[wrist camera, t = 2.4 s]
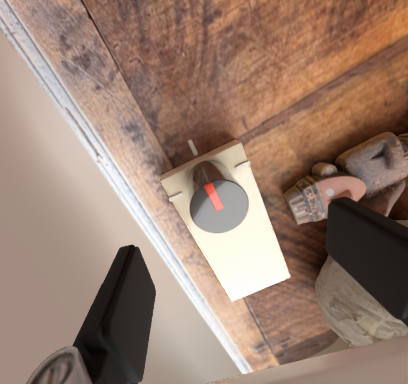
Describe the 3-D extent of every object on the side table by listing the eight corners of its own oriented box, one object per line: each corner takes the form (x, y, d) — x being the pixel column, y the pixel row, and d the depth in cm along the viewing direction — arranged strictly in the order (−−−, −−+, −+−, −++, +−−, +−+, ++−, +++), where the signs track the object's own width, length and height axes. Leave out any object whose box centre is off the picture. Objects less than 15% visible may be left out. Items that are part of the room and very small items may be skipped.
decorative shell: (313, 320, 31) (369, 408, 22) (285, 237, 24) (349, 315, 15) (424, 276, 30) (533, 350, 20) (427, 176, 23) (595, 219, 14)
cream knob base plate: (284, 265, 26) (292, 278, 24) (227, 289, 26) (231, 303, 24) (228, 117, 18) (234, 118, 16) (149, 156, 18) (146, 161, 16)
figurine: (542, 152, 17) (320, 255, 19) (464, 144, 21) (295, 227, 24) (550, 70, 14) (296, 200, 17) (460, 82, 19) (273, 182, 22)
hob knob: (236, 189, 19) (258, 221, 13) (198, 207, 19) (205, 245, 13) (220, 152, 17) (238, 170, 12) (179, 171, 17) (178, 198, 12)
